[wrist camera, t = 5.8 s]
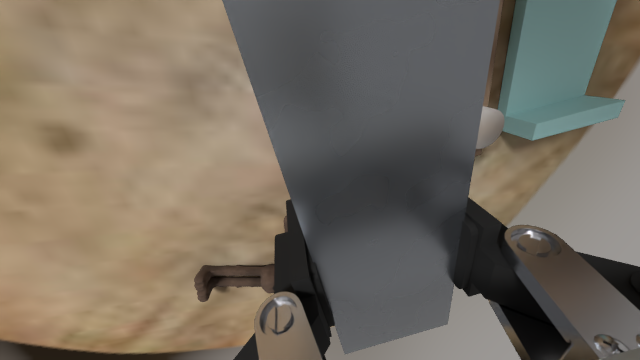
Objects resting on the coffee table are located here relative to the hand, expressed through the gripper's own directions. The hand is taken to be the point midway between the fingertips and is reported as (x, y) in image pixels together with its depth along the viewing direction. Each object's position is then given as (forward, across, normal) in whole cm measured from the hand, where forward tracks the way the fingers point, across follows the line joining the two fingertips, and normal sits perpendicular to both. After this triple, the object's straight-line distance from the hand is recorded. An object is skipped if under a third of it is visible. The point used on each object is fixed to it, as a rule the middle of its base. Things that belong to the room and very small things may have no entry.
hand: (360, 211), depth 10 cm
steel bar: (+1, 0, -3) cm, 3 cm away
